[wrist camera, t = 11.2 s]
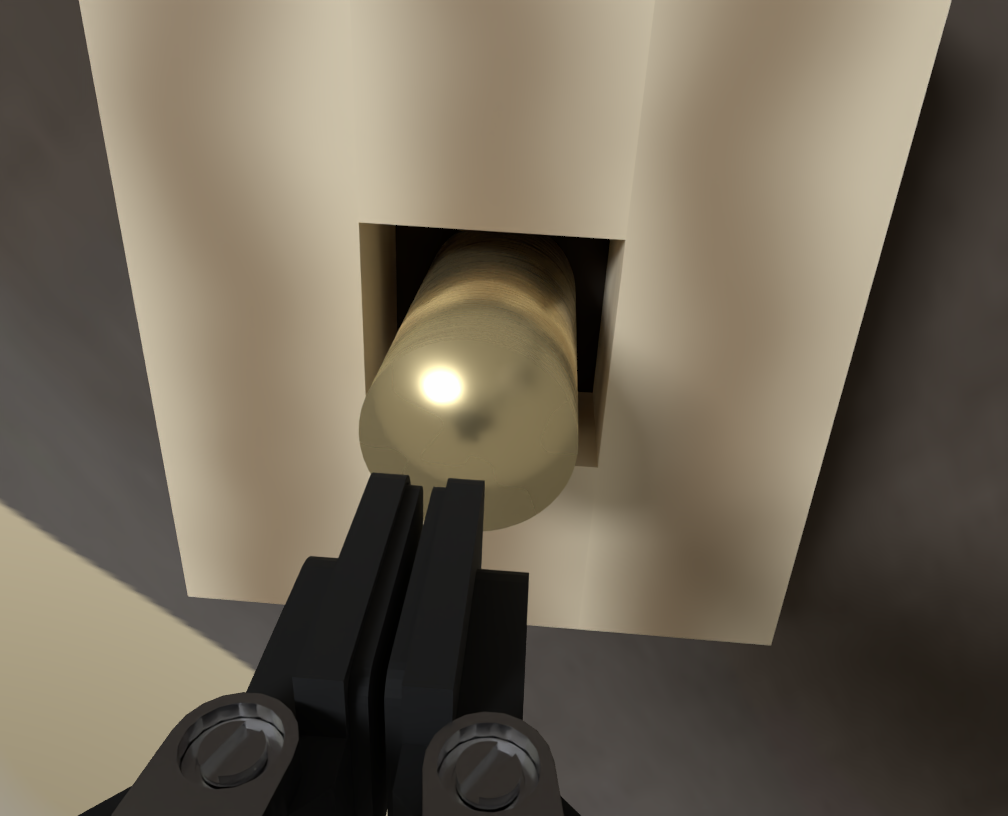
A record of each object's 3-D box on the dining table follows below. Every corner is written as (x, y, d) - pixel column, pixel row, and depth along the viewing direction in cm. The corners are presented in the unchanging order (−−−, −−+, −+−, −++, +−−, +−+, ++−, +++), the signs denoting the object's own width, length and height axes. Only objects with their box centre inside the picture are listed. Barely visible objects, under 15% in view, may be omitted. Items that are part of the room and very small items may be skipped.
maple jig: (880, -30, 17) (960, -33, 14) (741, 551, 25) (771, 645, 21) (162, -67, 18) (64, -80, 14) (240, 511, 25) (188, 596, 22)
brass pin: (582, 223, 20) (589, 349, 13) (569, 364, 22) (568, 539, 15) (428, 213, 21) (353, 332, 14) (427, 354, 22) (362, 523, 15)
